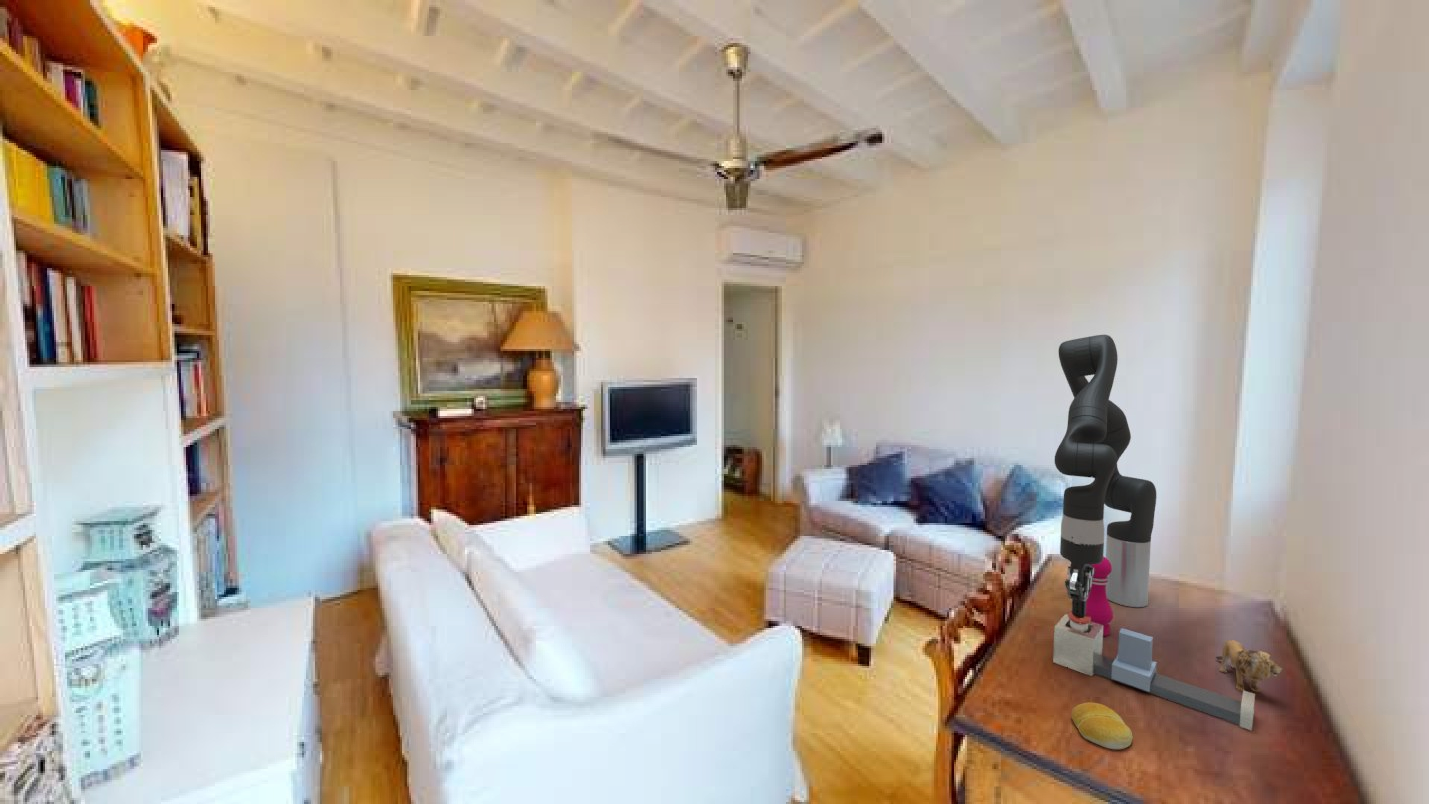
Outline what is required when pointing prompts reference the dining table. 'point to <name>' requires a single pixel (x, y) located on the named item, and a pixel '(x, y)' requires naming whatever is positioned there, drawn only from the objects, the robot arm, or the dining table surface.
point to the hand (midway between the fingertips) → (1078, 615)
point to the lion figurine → (1247, 664)
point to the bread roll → (1101, 725)
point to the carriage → (1134, 660)
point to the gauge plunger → (1079, 622)
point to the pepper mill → (1100, 596)
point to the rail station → (1088, 659)
